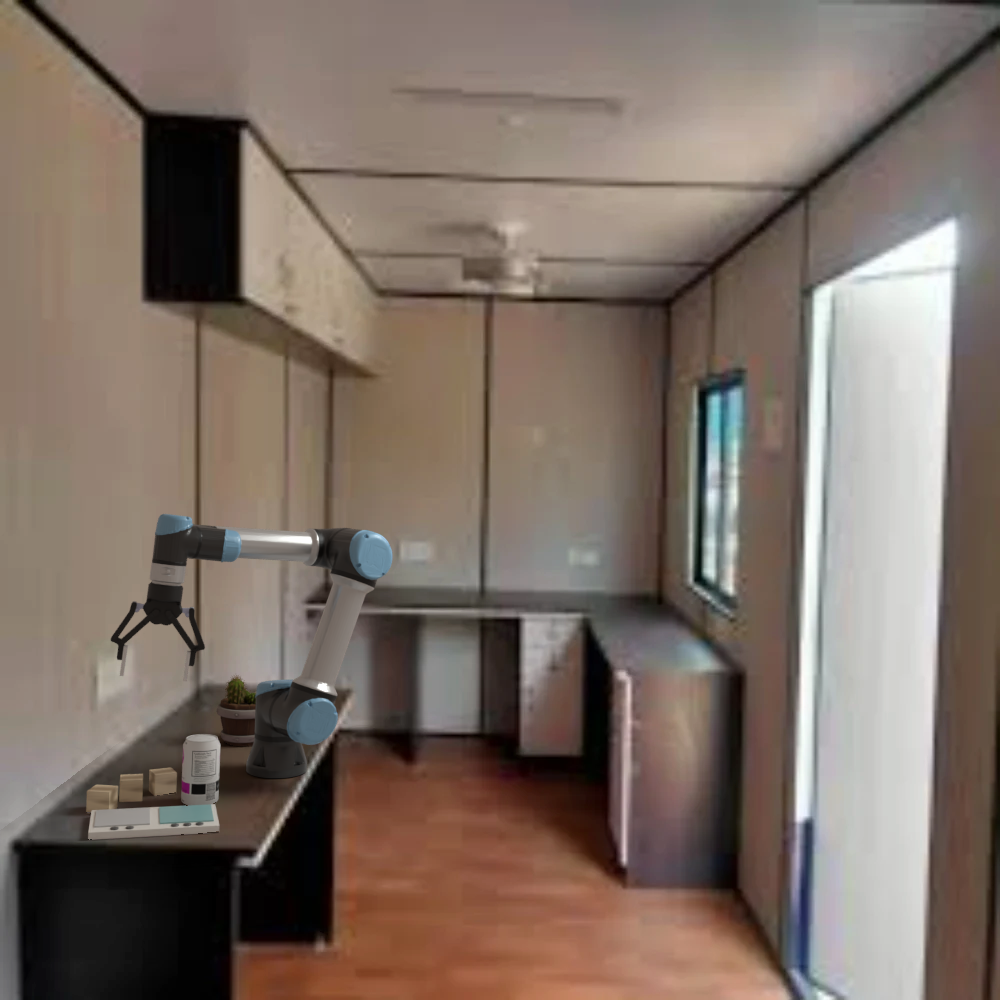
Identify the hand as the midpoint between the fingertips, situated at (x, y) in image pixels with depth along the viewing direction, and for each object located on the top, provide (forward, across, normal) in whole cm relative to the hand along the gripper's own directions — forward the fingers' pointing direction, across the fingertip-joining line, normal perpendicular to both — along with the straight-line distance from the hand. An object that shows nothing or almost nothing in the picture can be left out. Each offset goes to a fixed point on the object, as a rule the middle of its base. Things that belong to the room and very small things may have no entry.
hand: (153, 677), depth 250 cm
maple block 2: (+29, -1, +8) cm, 31 cm away
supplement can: (+28, +14, +3) cm, 31 cm away
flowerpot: (+25, +26, +58) cm, 68 cm away
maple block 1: (+30, -7, 0) cm, 31 cm away
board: (+29, +4, -11) cm, 32 cm away
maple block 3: (+28, +5, +13) cm, 32 cm away
